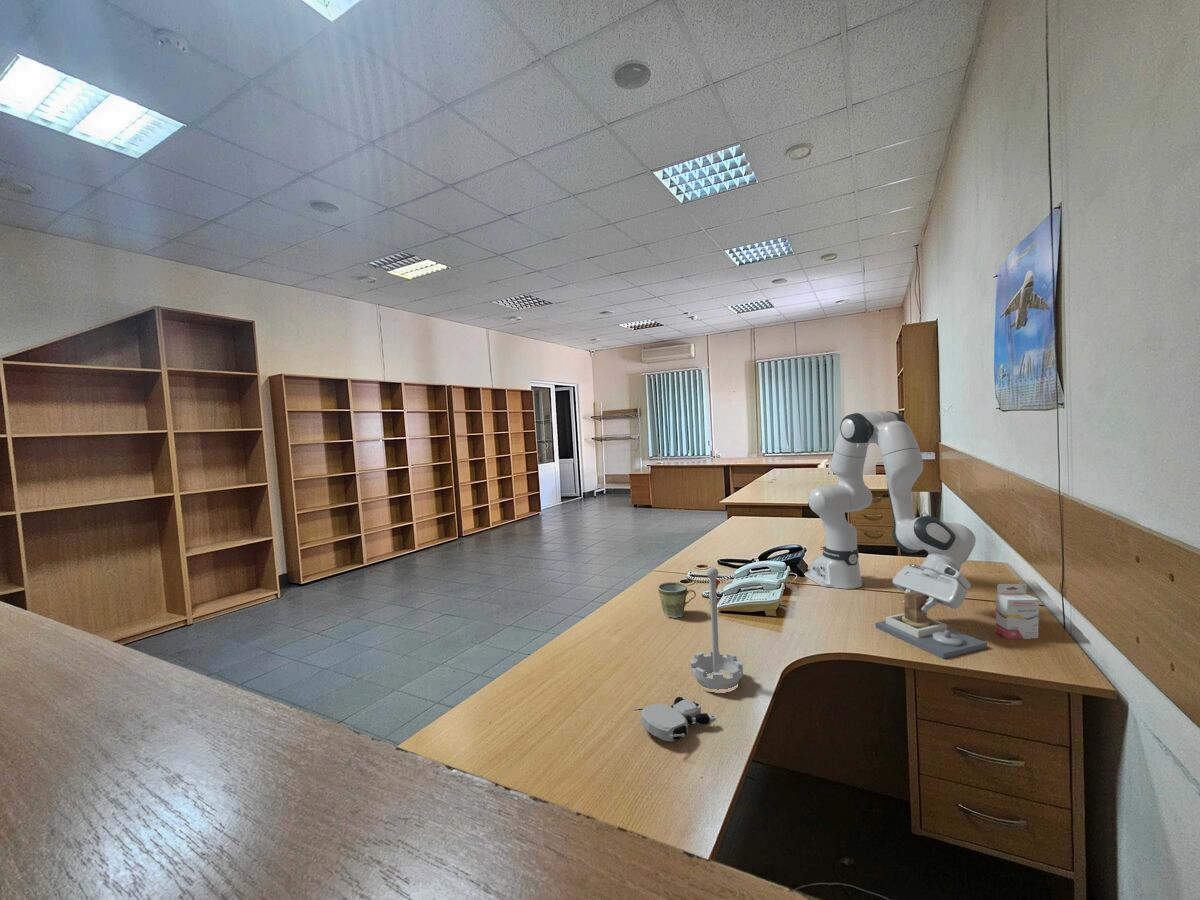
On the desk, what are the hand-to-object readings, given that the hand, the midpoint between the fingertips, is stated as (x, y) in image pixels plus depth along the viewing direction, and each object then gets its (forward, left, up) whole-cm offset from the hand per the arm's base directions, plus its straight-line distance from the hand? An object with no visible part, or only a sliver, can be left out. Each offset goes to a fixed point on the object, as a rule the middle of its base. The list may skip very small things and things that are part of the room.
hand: (913, 607), depth 148 cm
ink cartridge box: (+13, +24, -8) cm, 28 cm away
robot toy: (+15, -86, -8) cm, 88 cm away
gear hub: (0, +1, -5) cm, 5 cm away
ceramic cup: (-41, -58, -8) cm, 72 cm away
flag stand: (+2, -68, -8) cm, 69 cm away
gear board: (+4, +1, -8) cm, 9 cm away
